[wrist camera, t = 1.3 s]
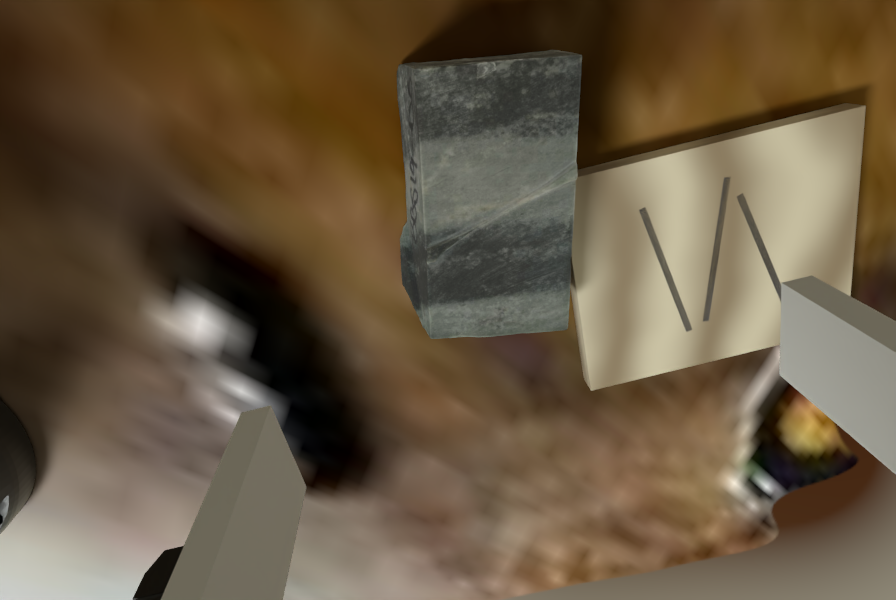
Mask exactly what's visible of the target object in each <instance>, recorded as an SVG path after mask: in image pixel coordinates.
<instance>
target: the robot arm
mask: <svg viewBox="0 0 896 600" xmlns="http://www.w3.org/2000/svg"><path fill="white" fill-rule="evenodd" d="M779 375H780V376H781V377H783V378H784V379H785V380H786V381H787V382H788V383H790V384H791V385H792V386H793V387H794V388H795V389H797V390H798V391H799V392H800V393H801V394H802V395H804V396H805V397H806V398H807V399H808V400H809V401H811V402H812V403H813V404H814V405H815V406H816V407H818V408H819V409H820V410H821V411H822V412H823V413H825V414H826V415H827V416H828V417H829V418H830V419H832V420H833V421H834V422H835V423H836V424H837V425H839V426H840V427H841V428H842V429H843V430H844V431H846V432H847V433H848V434H849V435H850V436H851V437H853V438H854V439H855V440H856V441H857V442H858V443H860V444H861V445H862V446H863V447H865V449H867V450H868V451H869V452H870V453H871V454H873V455H874V456H875V457H876V458H877V459H878V460H879V461H881V462H882V463H883V464H884V465H885V466H886V467H888V468H889V469H890V470H891V471H892V472H894V473H895V474H896V321H894V320H892V319H890V318H889V317H887V316H885V315H883V314H881V313H880V312H878V311H876V310H874V309H872V308H870V307H869V306H867V305H865V304H863V303H861V302H860V301H858V300H856V299H854V298H852V297H850V296H849V295H847V294H845V293H843V292H841V291H839V290H838V289H836V288H834V287H832V286H830V285H829V284H827V283H825V282H823V281H821V280H819V279H818V278H816V277H814V276H812V275H811V276H807V277H803V278H799V279H795V280H791V281H786V282H782V284H781V328H780V373H779ZM35 475H36V464H35V457H34V452H33V449H32V446H31V443H30V441H29V438H28V436H27V434H26V432H25V430H24V429H23V427H22V425H21V424H20V422H19V421H18V419H17V418H16V417H15V415H14V414H13V413H12V412H11V411H10V409H9V408H8V407H7V406H6V405H5V404H4V403H3V402H2V401H1V400H0V534H1V533H2V532H3V531H4V529H5V528H6V527H7V526H8V525H9V523H10V522H11V521H12V520H13V518H14V517H15V516H16V515H17V514H18V512H19V511H20V510H21V509H22V507H23V506H24V505H25V503H26V502H27V500H28V498H29V497H30V494H31V492H32V489H33V486H34V482H35ZM305 491H306V485H305V483H304V481H303V478H302V476H301V474H300V471H299V469H298V467H297V465H296V462H295V460H294V458H293V455H292V453H291V451H290V449H289V446H288V444H287V442H286V439H285V437H284V435H283V433H282V430H281V428H280V426H279V423H278V421H277V419H276V417H275V414H274V412H273V410H272V407H271V406H267V407H263V408H259V409H255V410H250V411H246V412H242V413H241V415H240V417H239V420H238V422H237V424H236V427H235V429H234V431H233V434H232V436H231V438H230V440H229V443H228V445H227V447H226V450H225V452H224V454H223V457H222V459H221V461H220V464H219V466H218V468H217V471H216V473H215V475H214V478H213V480H212V482H211V484H210V487H209V489H208V491H207V494H206V496H205V498H204V501H203V503H202V505H201V508H200V510H199V512H198V515H197V517H196V519H195V522H194V524H193V526H192V528H191V531H190V533H189V535H188V538H187V540H186V542H185V545H184V546H182V547H177V548H173V549H169V550H165V551H164V552H163V553H162V554H161V555H160V557H159V558H158V559H157V560H156V561H155V562H154V564H153V565H152V566H151V567H150V568H149V570H148V571H147V572H146V573H145V574H144V577H143V579H142V581H141V583H140V585H139V587H138V589H137V591H136V593H135V595H134V597H133V600H283V596H284V591H285V586H286V581H287V577H288V572H289V567H290V562H291V558H292V553H293V548H294V543H295V539H296V534H297V529H298V524H299V520H300V515H301V510H302V505H303V501H304V496H305Z"/></svg>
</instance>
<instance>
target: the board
mask: <svg viewBox="0 0 896 600" xmlns="http://www.w3.org/2000/svg"><path fill="white" fill-rule="evenodd" d="M865 110H866V105H858V104H849V103H844V104H840V105H836V106H832V107H828V108H824V109H820V110H816V111H812V112H808V113H804V114H800V115H796V116H792V117H788V118H784V119H780V120H776V121H772V122H768V123H764V124H760V125H756V126H752V127H748V128H744V129H740V130H736V131H731V132H727V133H723V134H719V135H715V136H711V137H707V138H703V139H699V140H695V141H691V142H687V143H683V144H679V145H675V146H671V147H667V148H663V149H659V150H655V151H651V152H647V153H643V154H639V155H635V156H631V157H627V158H623V159H619V160H615V161H611V162H607V163H603V164H599V165H595V166H591V167H587V168H583V169H579V170H578V176H577V179H576V191H575V207H574V225H573V239H572V257H571V281H570V289H571V295H572V302H573V309H574V315H575V322H576V329H577V335H578V342H579V349H580V355H581V362H582V369H583V375H584V379H585V381H586V383H587V385H588V386H589V388H590V390H591V391H592V390H596V389H600V388H604V387H608V386H612V385H616V384H620V383H625V382H629V381H633V380H637V379H641V378H645V377H649V376H653V375H657V374H661V373H666V372H670V371H674V370H678V369H682V368H686V367H690V366H694V365H698V364H702V363H707V362H711V361H715V360H719V359H723V358H727V357H731V356H735V355H739V354H743V353H748V352H752V351H756V350H760V349H764V348H768V347H772V346H776V345H780V328H781V284H782V282H786V281H791V280H795V279H799V278H803V277H807V276H811V275H812V276H814V277H816V278H818V279H819V280H821V281H823V282H825V283H827V284H829V285H830V286H832V287H834V288H836V289H838V290H839V291H841V292H843V293H845V294H847V295H849V296H850V295H851V283H852V271H853V258H854V246H855V234H856V221H857V209H858V197H859V184H860V172H861V160H862V147H863V135H864V123H865Z"/></svg>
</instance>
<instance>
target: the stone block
mask: <svg viewBox="0 0 896 600" xmlns="http://www.w3.org/2000/svg"><path fill="white" fill-rule="evenodd" d="M581 67H582V55H580V54H576V53H572V52H565V51H559V50H548V51H539V52H529V53H521V54H511V55H500V56H490V57H478V58H464V59H454V60H448V61H432V62H422V63H415V62H412V63H405V64H400V65H399V67H398V71H397V92H398V105H399V113H400V121H401V132H402V147H403V157H404V167H405V177H406V204H407V223H406V224H405V226H404V227H403V232H402V235H401V238H400V250H401V271H402V282H403V286H404V287H405V289H406V291H407V293H408V295H409V297H410V299H411V302H412V304H413V306H414V309H415V310H416V312H417V314H418V316H419V318H420V321H421V323H422V326H423V328H424V329H426V331H427V333H428V335H429V336H430V338H431V339H439V338H455V337H493V336H502V335H512V334H519V333H535V332H548V331H559V330H567V328H568V317H569V299H570V281H571V257H572V239H573V225H574V207H575V191H576V179H577V176H578V169H577V163H576V157H577V139H578V122H579V102H580V87H581Z"/></svg>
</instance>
